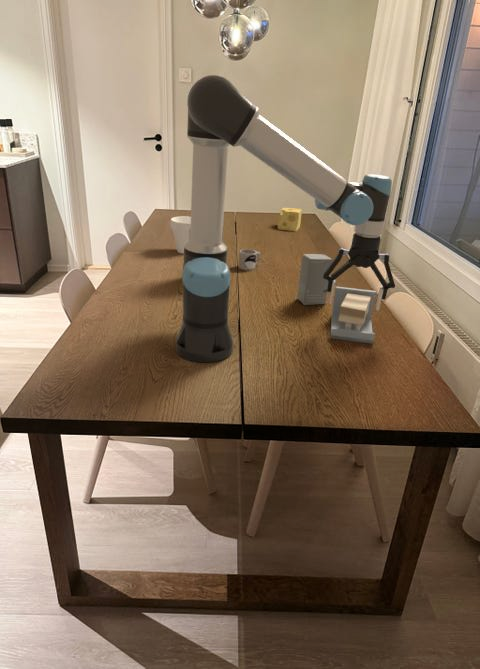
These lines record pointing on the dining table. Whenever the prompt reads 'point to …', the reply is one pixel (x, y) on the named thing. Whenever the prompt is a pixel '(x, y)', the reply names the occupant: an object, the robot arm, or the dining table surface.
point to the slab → (354, 308)
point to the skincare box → (313, 279)
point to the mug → (248, 259)
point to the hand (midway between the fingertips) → (353, 305)
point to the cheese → (290, 219)
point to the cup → (181, 231)
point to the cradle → (349, 329)
